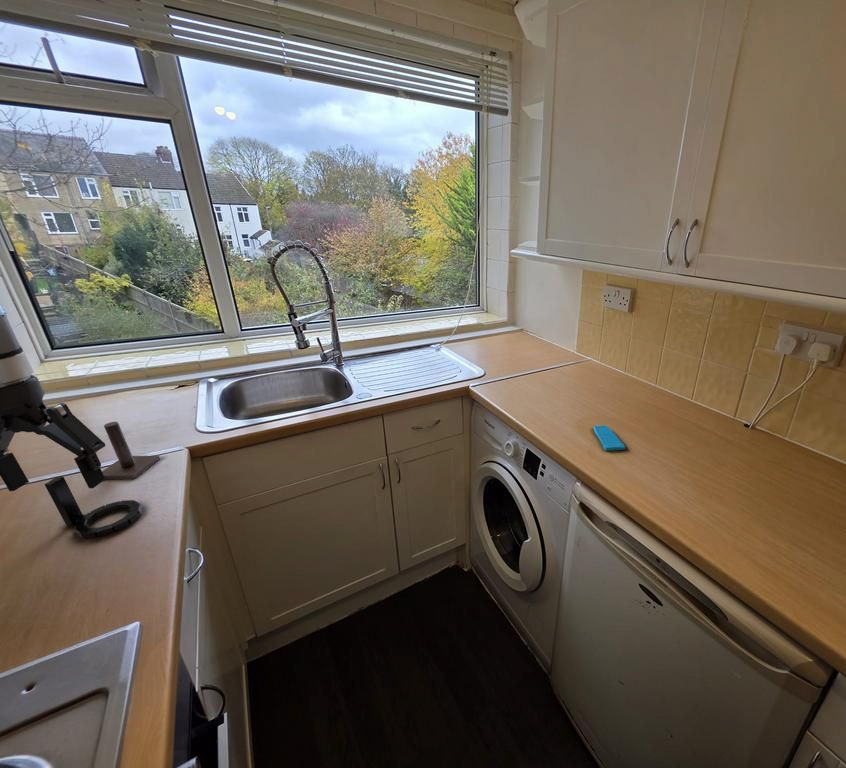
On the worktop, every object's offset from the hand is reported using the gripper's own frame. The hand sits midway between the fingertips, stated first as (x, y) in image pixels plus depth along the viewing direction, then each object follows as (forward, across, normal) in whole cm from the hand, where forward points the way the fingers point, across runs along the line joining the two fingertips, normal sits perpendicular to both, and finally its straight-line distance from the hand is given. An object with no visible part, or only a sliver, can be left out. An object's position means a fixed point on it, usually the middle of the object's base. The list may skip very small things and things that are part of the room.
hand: (58, 485), depth 76 cm
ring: (+9, -5, 0) cm, 10 cm away
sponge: (+11, -114, -27) cm, 118 cm away
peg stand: (+9, +4, -18) cm, 20 cm away
